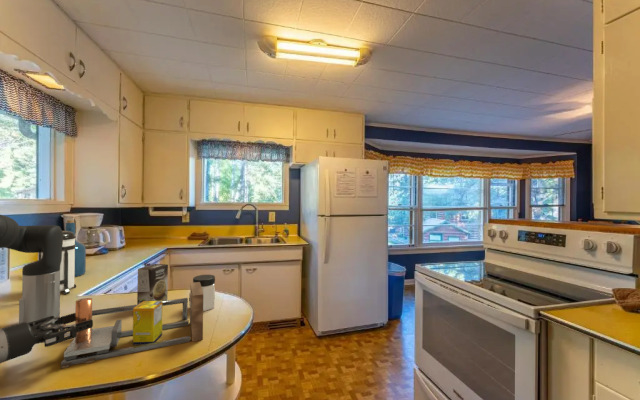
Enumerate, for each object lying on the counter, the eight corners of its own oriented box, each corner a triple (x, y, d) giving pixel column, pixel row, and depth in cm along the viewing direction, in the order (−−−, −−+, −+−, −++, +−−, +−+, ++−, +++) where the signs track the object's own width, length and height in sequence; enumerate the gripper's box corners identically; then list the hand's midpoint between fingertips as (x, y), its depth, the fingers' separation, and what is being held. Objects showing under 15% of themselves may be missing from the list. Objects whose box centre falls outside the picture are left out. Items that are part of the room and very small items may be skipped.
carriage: (63, 360, 72) (64, 310, 72) (79, 337, 84) (79, 294, 84) (114, 350, 77) (115, 303, 77) (122, 330, 89) (123, 289, 89)
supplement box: (142, 335, 89) (143, 300, 89) (162, 334, 90) (163, 300, 90) (132, 345, 83) (132, 308, 83) (153, 344, 84) (153, 307, 84)
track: (59, 369, 71) (59, 364, 71) (78, 341, 85) (78, 337, 85) (190, 342, 85) (190, 338, 85) (188, 322, 98) (188, 319, 98)
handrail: (81, 337, 87) (81, 312, 87) (83, 335, 89) (83, 311, 88) (187, 319, 101) (187, 298, 101) (187, 318, 102) (187, 297, 102)
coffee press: (22, 296, 121) (22, 226, 121) (66, 285, 136) (67, 223, 136) (44, 302, 115) (45, 228, 114) (89, 290, 130) (89, 225, 129)
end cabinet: (189, 342, 85) (190, 296, 85) (187, 323, 98) (188, 283, 98) (202, 339, 87) (203, 294, 87) (199, 321, 99) (199, 281, 99)
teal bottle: (89, 274, 155) (90, 220, 155) (58, 280, 144) (58, 221, 143) (80, 270, 162) (80, 218, 162) (49, 276, 151) (49, 220, 151)
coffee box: (150, 312, 107) (151, 269, 107) (136, 310, 108) (136, 268, 108) (168, 303, 116) (168, 264, 116) (154, 301, 117) (155, 263, 117)
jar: (214, 310, 109) (215, 279, 109) (191, 313, 107) (192, 281, 106) (214, 302, 118) (215, 273, 118) (193, 304, 115) (193, 275, 115)
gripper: (11, 337, 62) (97, 311, 76) (-11, 322, 68) (72, 301, 83) (11, 371, 62) (97, 339, 76) (-11, 353, 69) (72, 326, 83)
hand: (84, 319), depth 79 cm, fingers open, 8 cm apart
